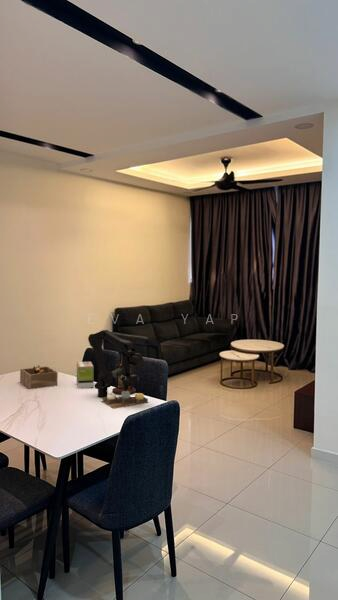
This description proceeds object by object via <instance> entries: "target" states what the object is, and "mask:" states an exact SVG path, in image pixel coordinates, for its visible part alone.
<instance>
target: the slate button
mask: <svg viewBox="0 0 338 600" xmlns="http://www.w3.org/2000/svg"><path fill="white" fill-rule="evenodd" d="M120 397H121V399H123V400H127V399H130V397H131V394H130V392H129V391H123V392H121V394H120Z"/></svg>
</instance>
